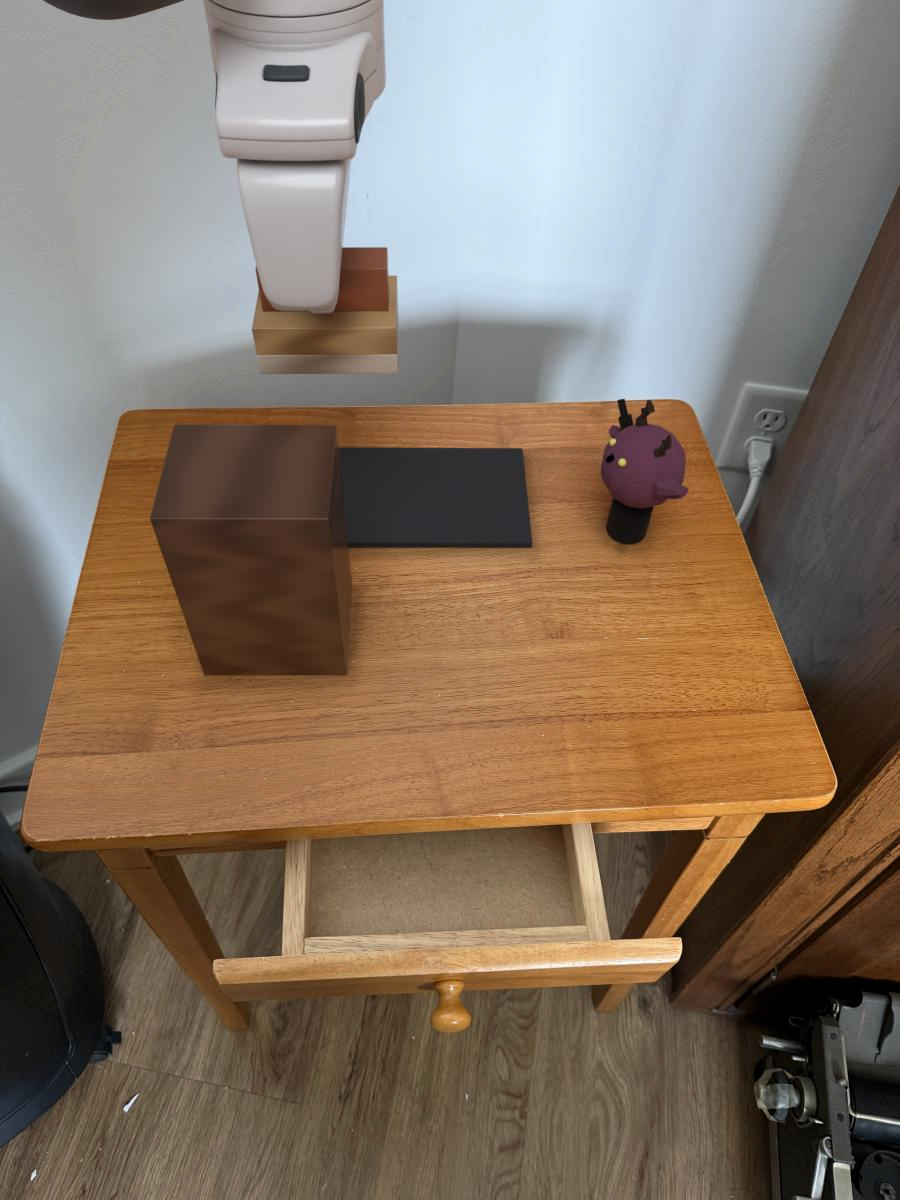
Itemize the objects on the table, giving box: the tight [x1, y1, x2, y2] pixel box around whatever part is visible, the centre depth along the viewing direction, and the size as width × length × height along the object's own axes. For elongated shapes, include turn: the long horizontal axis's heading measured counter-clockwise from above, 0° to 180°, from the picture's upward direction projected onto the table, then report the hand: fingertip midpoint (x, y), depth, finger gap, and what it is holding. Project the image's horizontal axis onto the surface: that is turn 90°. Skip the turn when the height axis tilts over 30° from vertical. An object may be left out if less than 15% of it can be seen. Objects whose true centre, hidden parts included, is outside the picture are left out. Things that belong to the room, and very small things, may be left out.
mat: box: [339, 446, 533, 549], centre depth 73 cm, size 20×11×1 cm, turn 91°
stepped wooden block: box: [251, 246, 399, 375], centre depth 58 cm, size 9×6×6 cm, turn 92°
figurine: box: [600, 398, 690, 545], centre depth 67 cm, size 8×8×12 cm
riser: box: [149, 423, 353, 676], centre depth 59 cm, size 10×8×16 cm
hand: (323, 289), depth 57 cm, fingers closed on stepped wooden block, 2 cm apart
